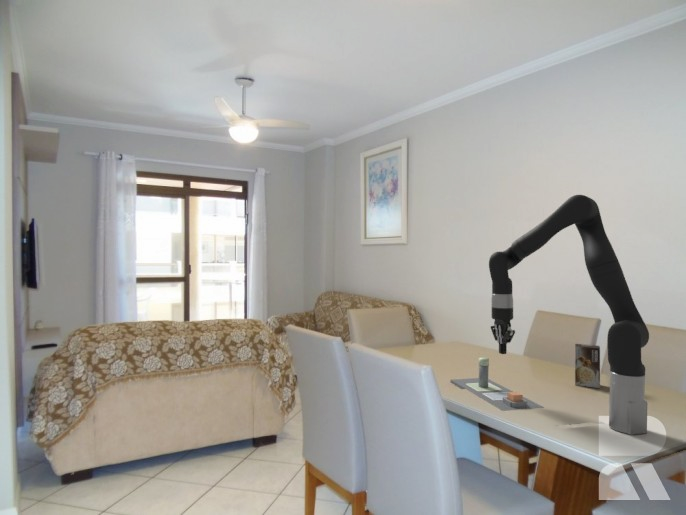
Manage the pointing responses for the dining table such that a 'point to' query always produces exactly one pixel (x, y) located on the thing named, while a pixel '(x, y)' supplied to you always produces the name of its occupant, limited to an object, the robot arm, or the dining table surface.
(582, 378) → the coffee box
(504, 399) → the picture board
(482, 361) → the marker
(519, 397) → the button
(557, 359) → the dining table surface
